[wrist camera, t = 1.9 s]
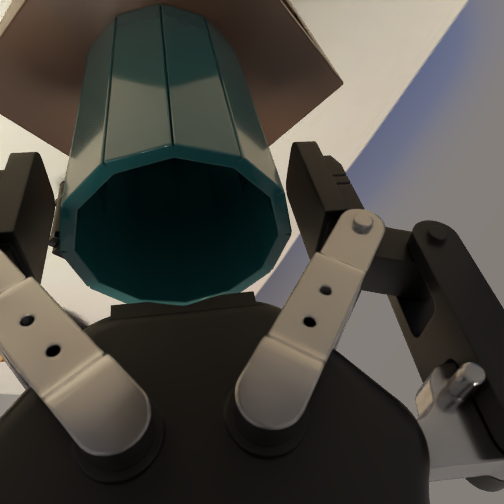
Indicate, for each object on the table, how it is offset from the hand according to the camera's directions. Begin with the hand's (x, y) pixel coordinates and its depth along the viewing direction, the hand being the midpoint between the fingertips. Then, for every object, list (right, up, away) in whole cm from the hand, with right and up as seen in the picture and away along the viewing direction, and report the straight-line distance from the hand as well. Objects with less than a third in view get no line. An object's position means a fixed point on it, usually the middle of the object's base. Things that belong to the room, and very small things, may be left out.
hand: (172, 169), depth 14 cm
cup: (-1, +4, +4) cm, 6 cm away
